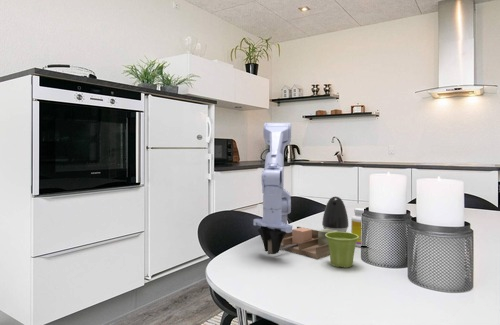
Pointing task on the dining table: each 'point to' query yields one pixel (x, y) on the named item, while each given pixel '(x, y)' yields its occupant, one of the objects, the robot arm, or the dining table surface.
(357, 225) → the supplement bottle
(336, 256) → the plant pot
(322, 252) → the lane shelf
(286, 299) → the dining table surface
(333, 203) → the black rounded cone
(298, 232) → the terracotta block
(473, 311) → the dining table surface
